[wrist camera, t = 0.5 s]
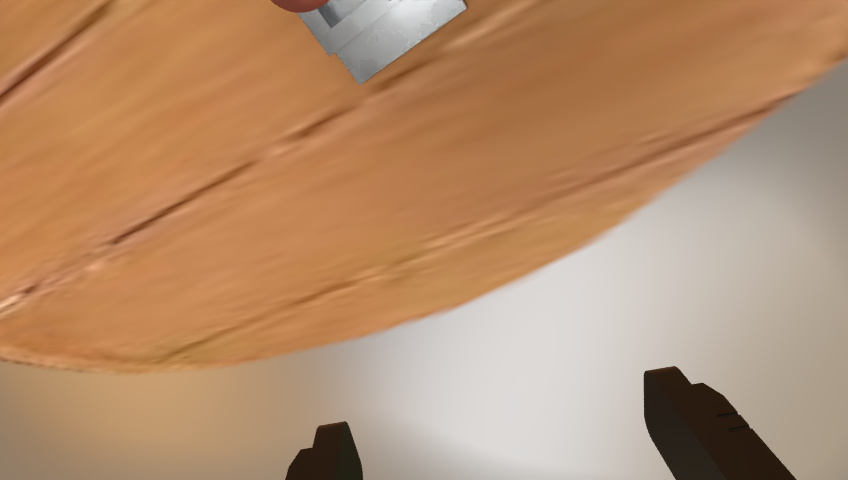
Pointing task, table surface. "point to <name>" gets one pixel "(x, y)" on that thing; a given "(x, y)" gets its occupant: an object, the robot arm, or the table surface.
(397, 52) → the hitch
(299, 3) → the pin
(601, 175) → the table surface
